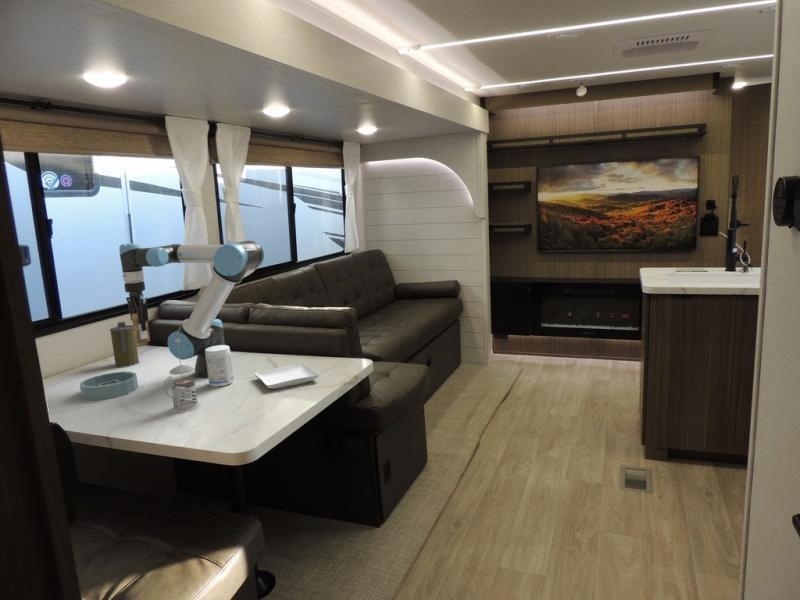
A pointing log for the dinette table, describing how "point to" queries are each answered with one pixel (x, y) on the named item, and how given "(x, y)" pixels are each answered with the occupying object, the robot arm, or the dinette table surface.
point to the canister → (124, 345)
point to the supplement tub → (219, 365)
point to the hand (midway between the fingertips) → (142, 337)
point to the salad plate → (287, 376)
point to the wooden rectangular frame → (136, 330)
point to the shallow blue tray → (108, 385)
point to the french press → (187, 385)
